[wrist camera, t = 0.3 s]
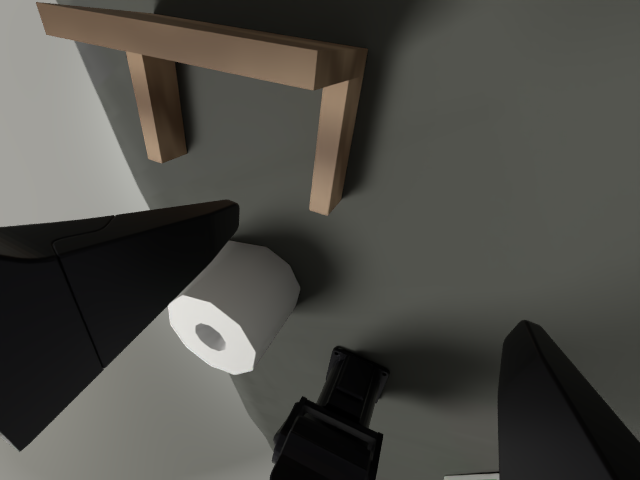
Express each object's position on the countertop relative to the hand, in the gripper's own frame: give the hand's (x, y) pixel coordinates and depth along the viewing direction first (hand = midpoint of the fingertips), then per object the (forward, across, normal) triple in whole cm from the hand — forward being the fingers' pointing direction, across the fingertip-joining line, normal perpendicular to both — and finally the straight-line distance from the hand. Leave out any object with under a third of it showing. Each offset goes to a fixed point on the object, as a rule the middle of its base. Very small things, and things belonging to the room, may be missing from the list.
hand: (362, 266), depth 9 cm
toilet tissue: (+15, +12, +18) cm, 26 cm away
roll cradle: (+14, +13, +1) cm, 20 cm away
